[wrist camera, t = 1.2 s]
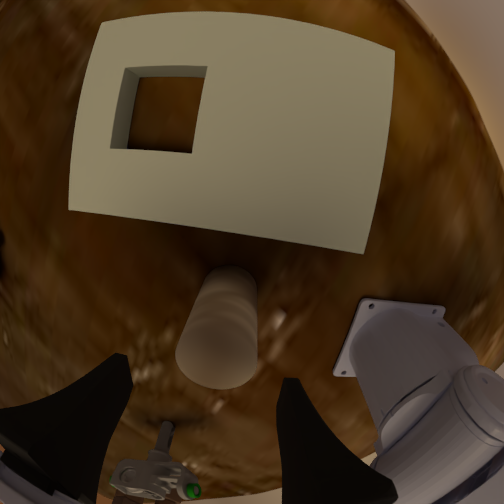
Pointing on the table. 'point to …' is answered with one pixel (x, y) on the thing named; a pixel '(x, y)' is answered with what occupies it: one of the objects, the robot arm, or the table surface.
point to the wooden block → (172, 500)
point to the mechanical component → (156, 472)
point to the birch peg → (221, 331)
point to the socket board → (240, 127)
